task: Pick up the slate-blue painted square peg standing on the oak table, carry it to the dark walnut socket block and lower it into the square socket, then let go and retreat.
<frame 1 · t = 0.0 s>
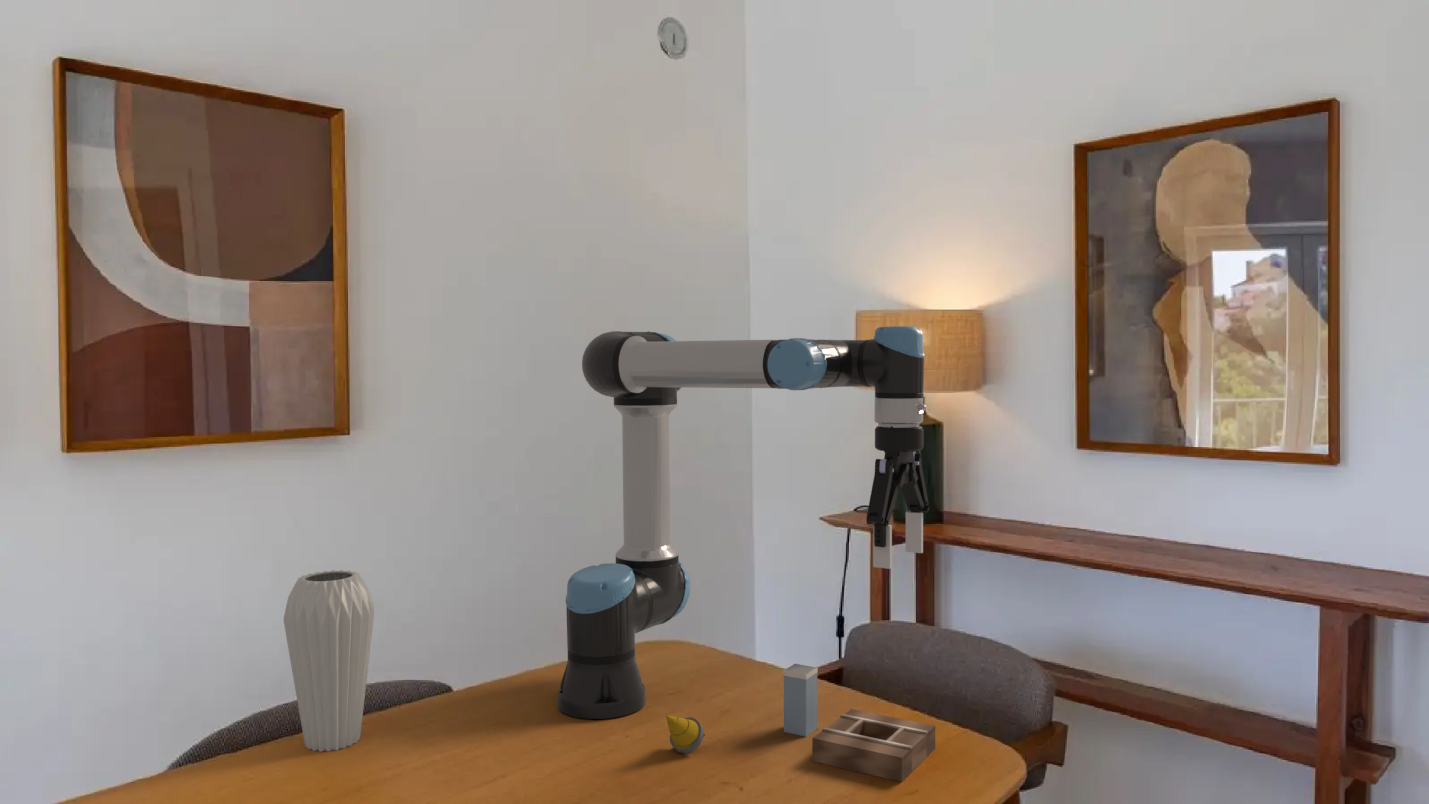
hand: (898, 559, 155), 28 cm above the table, fingers open, 13 cm apart
socket block: (874, 754, 148), on the table
peg: (800, 730, 158), on the table
vase: (332, 743, 155), on the table
yellow spinning top: (685, 754, 150), on the table
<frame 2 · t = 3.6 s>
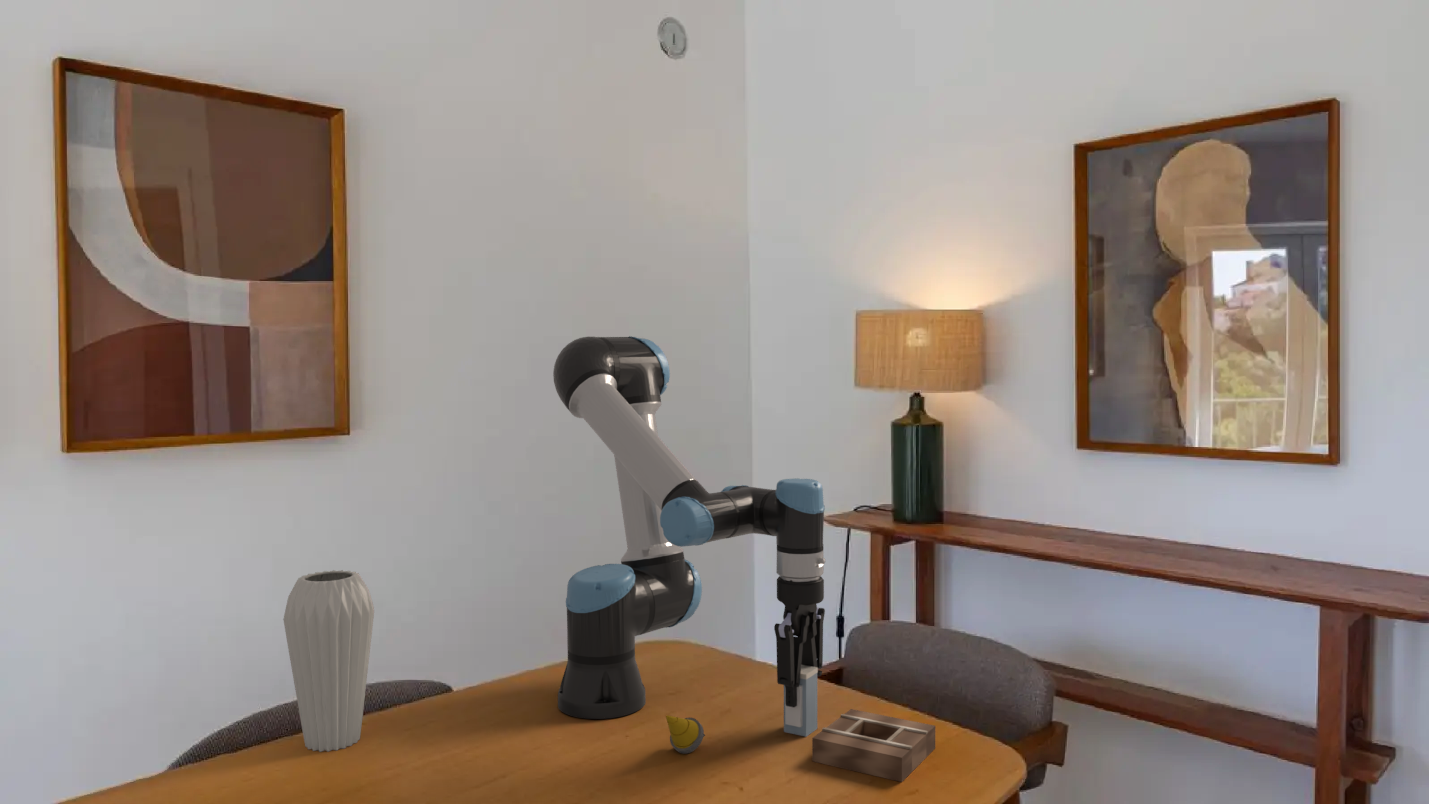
hand: (800, 720, 158), 2 cm above the table, fingers closed on peg, 4 cm apart
peg: (800, 730, 158), on the table, touching gripper
everything else where it was.
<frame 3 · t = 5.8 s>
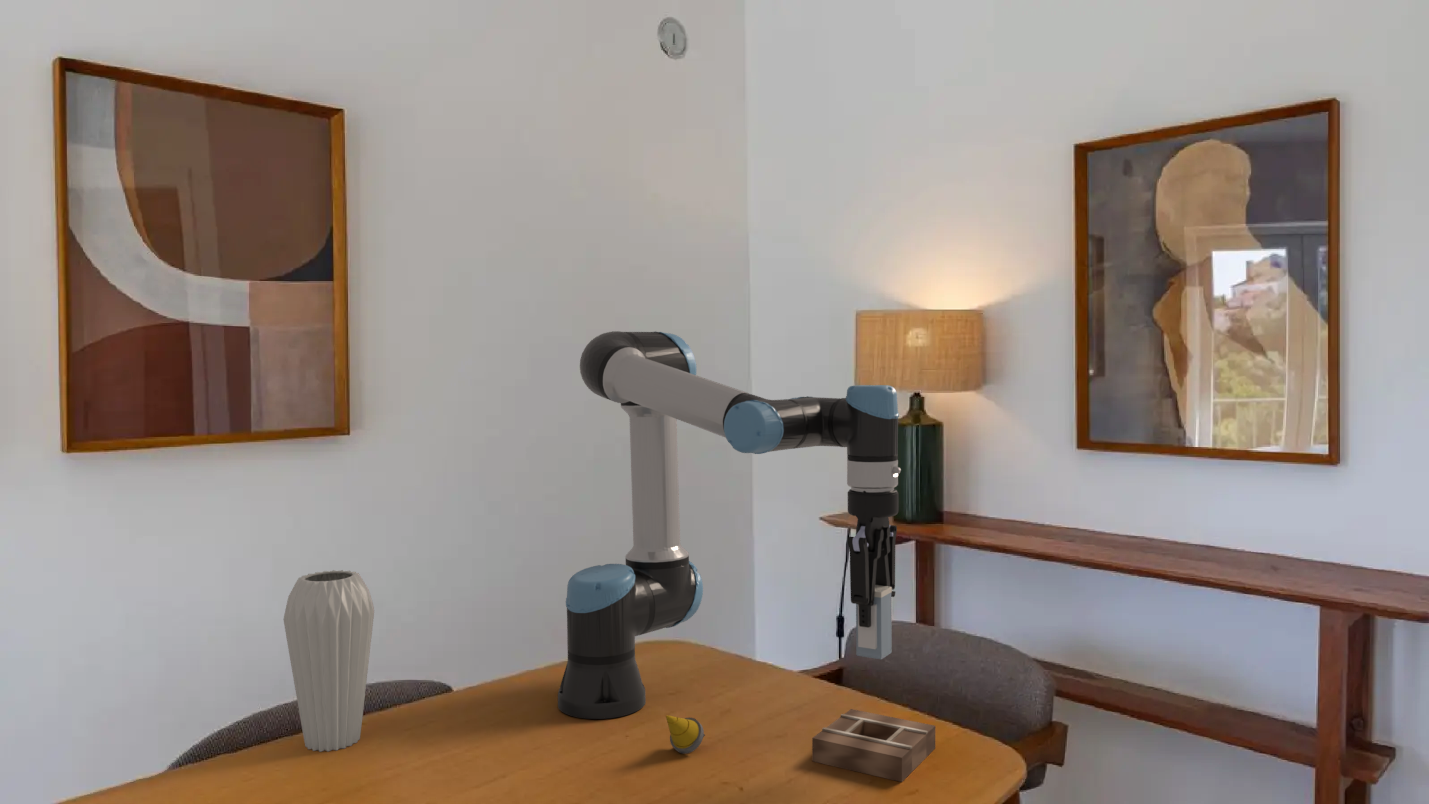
hand: (873, 643, 148), 17 cm above the table, fingers closed on peg, 4 cm apart
peg: (874, 654, 148), point 15 cm above the table, touching gripper
everything else where it was.
when the fingers open (4 cm above the table, at t = 8.1 s): peg drops 2 cm, resting in socket block.
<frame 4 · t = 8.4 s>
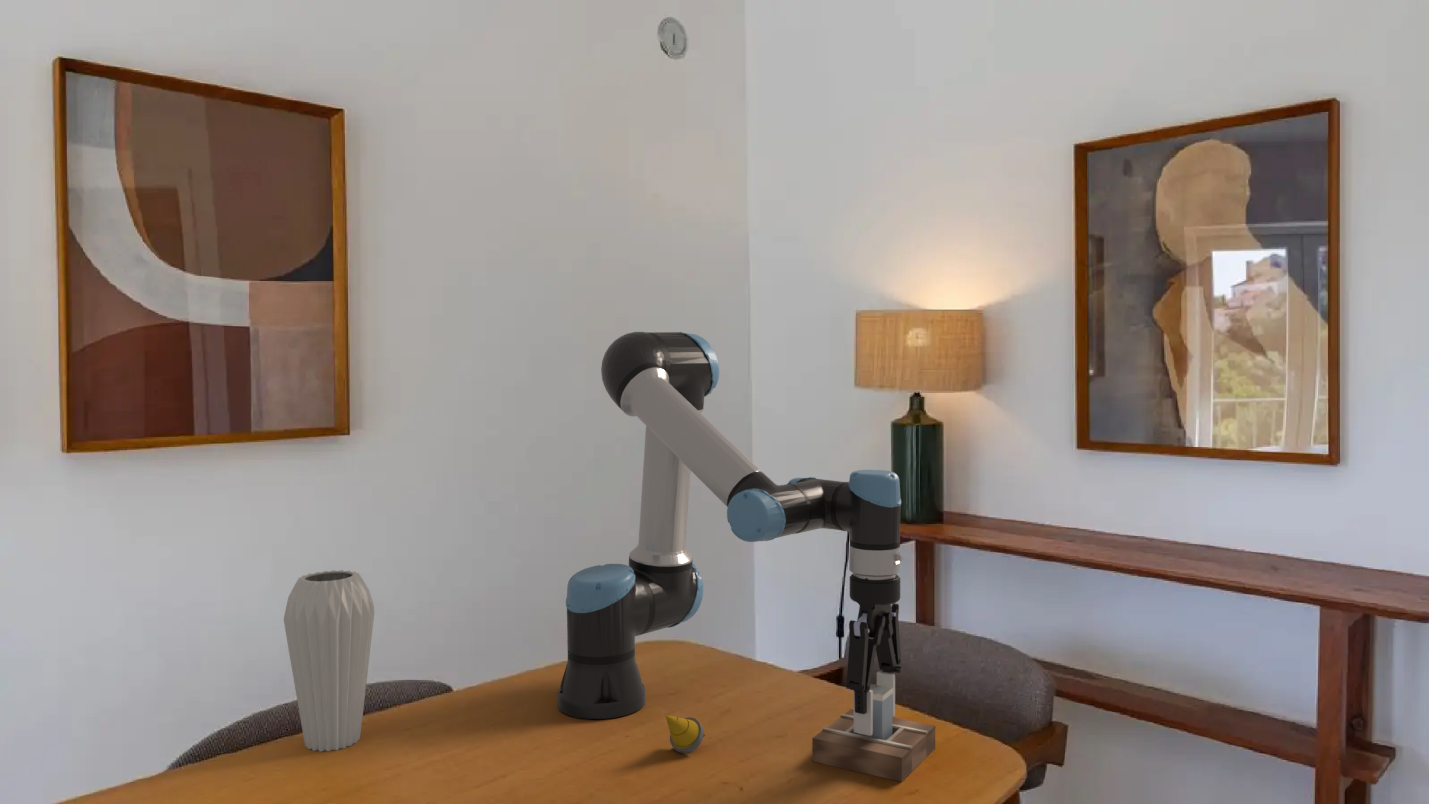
hand: (874, 723, 148), 5 cm above the table, fingers open, 8 cm apart
peg: (874, 754, 148), resting in socket block
everything else where it was.
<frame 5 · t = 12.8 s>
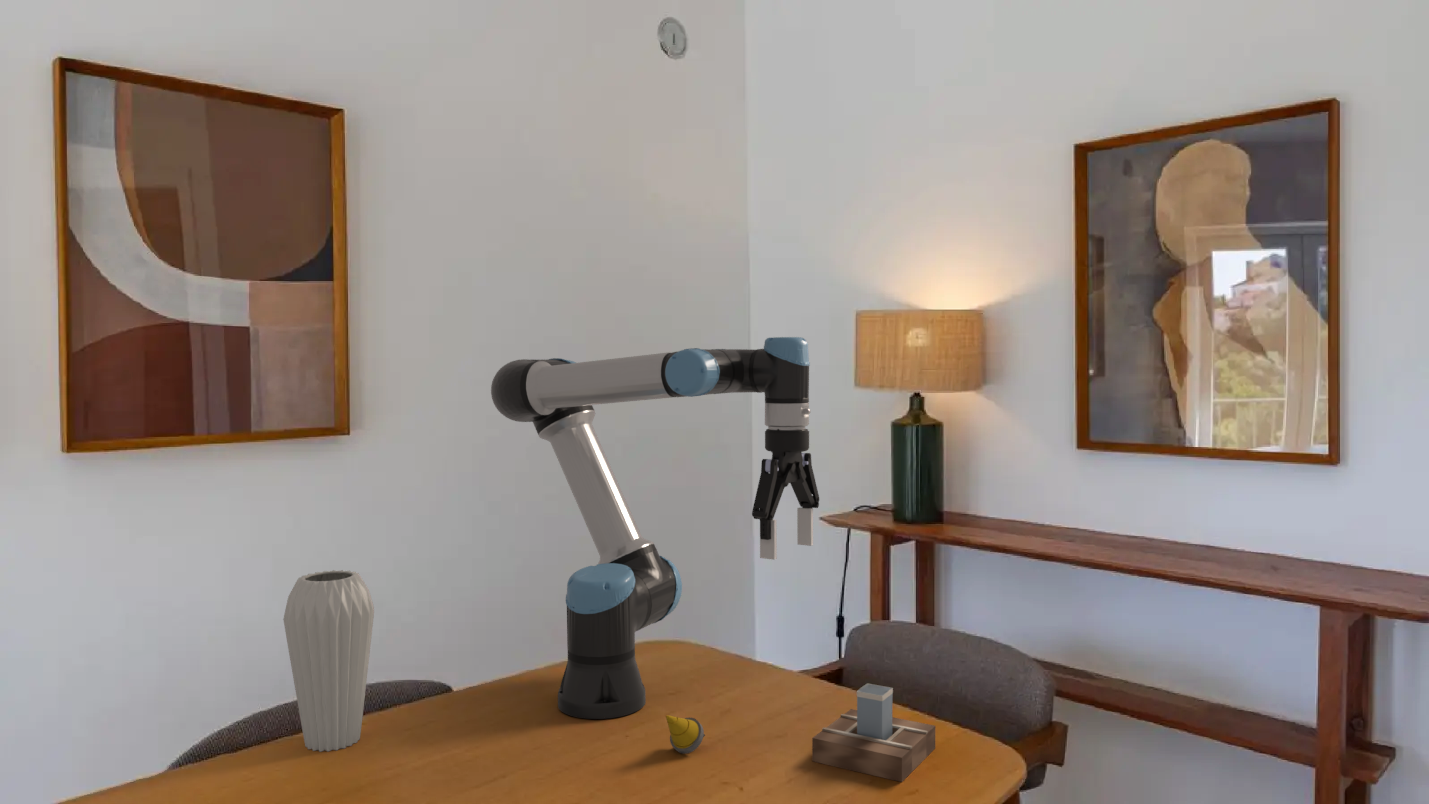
hand: (787, 551, 168), 27 cm above the table, fingers open, 13 cm apart
nothing on the table moved.
at the end: peg 0.0 cm off-centre on the socket block, point 0.0 cm above the socket block's base; the gripper is holding nothing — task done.
